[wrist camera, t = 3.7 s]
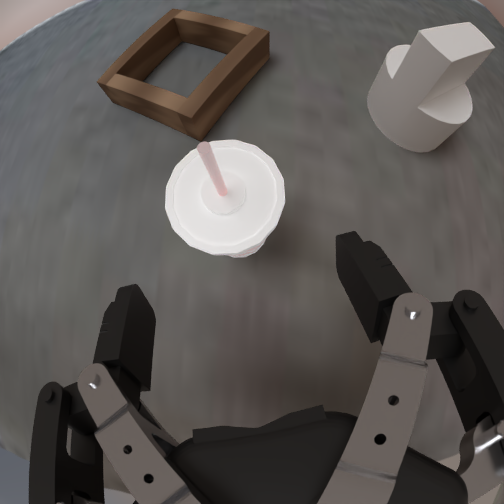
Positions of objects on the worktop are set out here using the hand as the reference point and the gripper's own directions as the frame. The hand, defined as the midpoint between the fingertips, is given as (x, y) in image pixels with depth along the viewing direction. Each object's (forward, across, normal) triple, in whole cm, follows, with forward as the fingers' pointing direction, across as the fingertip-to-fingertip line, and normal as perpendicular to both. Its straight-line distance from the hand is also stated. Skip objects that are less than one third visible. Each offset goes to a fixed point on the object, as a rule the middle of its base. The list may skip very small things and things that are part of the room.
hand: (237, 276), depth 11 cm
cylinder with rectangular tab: (+17, -19, 0) cm, 26 cm away
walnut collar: (+23, +1, -7) cm, 24 cm away
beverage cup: (+11, 0, +5) cm, 12 cm away
